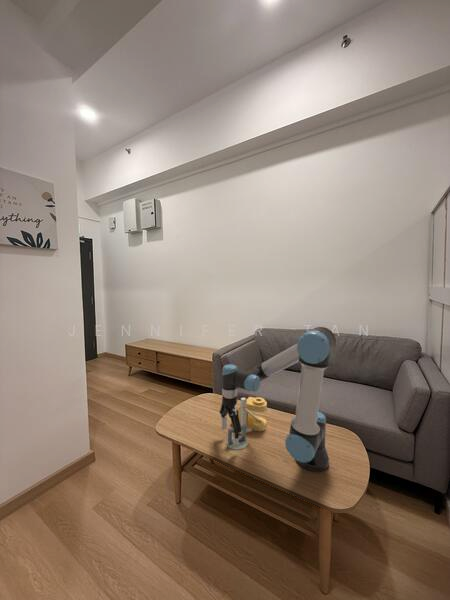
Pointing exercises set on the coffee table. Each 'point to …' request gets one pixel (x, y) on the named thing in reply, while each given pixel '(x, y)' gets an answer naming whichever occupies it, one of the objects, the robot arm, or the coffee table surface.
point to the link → (243, 438)
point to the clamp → (253, 406)
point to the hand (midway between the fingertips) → (229, 435)
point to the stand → (243, 414)
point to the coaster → (238, 445)
